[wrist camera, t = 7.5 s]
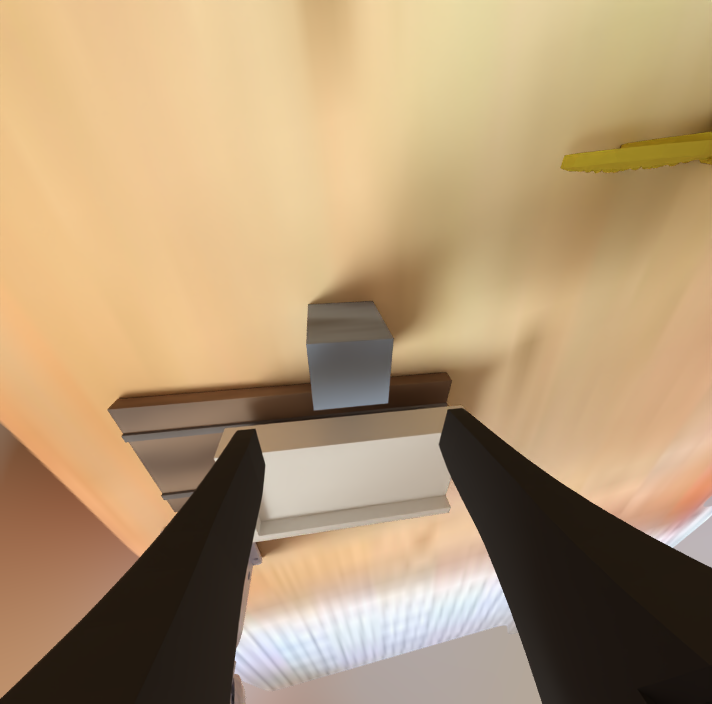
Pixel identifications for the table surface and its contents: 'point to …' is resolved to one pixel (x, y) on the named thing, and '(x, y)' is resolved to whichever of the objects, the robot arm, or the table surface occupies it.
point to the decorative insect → (644, 154)
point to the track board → (237, 423)
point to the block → (348, 355)
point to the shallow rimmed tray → (349, 471)
